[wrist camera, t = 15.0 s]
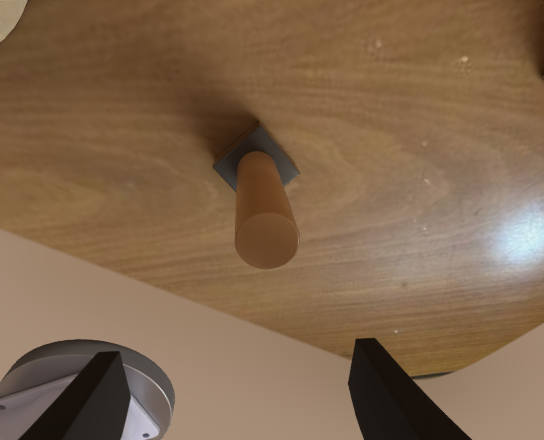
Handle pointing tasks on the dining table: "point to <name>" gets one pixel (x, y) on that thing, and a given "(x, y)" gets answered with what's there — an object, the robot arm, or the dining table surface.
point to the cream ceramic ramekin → (10, 15)
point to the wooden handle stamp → (261, 197)
